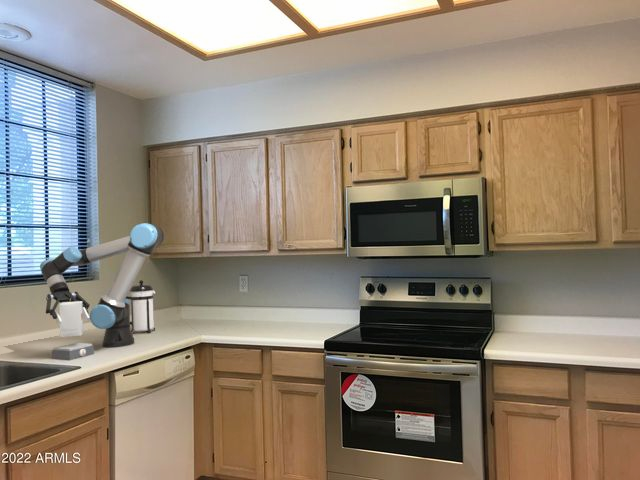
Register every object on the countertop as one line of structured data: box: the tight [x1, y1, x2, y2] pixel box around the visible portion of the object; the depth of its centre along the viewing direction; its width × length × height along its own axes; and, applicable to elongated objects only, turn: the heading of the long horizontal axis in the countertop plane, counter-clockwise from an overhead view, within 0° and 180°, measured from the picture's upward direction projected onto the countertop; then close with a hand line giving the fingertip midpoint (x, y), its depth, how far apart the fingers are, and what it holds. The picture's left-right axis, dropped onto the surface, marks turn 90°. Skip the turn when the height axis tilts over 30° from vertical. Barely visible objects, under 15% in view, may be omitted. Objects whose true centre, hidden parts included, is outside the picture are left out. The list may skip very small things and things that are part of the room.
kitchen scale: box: [51, 342, 95, 361], centre depth 233 cm, size 13×12×5 cm
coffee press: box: [125, 279, 156, 335], centre depth 295 cm, size 17×16×30 cm
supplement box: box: [58, 301, 84, 338], centre depth 234 cm, size 9×9×15 cm
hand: (74, 321), depth 232 cm, fingers closed on supplement box, 12 cm apart
